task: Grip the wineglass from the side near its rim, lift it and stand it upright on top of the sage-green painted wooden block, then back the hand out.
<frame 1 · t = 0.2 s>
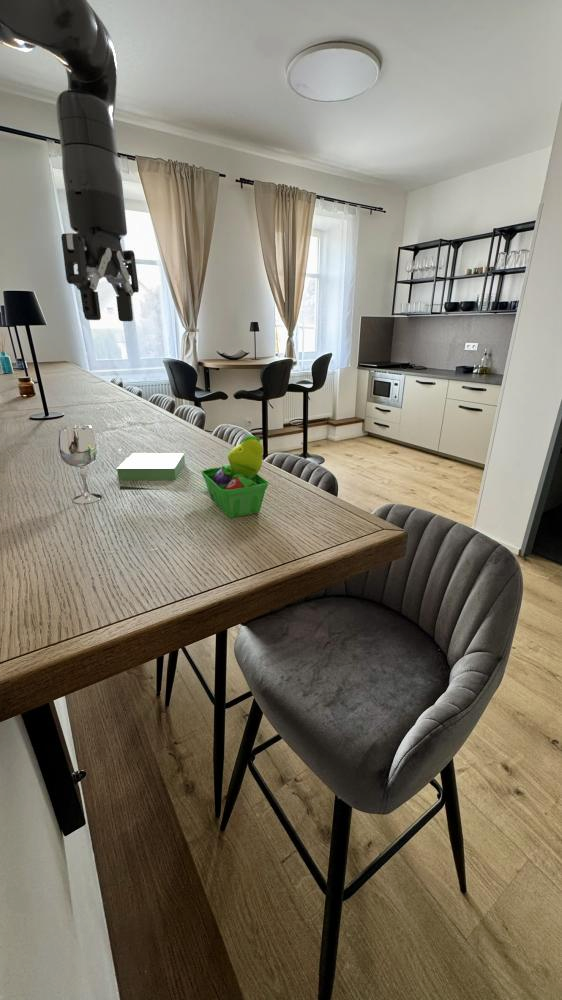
hand: (110, 320, 64), 28 cm above the counter, tool pointing down, fingers open, 8 cm apart
green block: (154, 480, 78), on the counter
wineglass: (87, 499, 69), on the counter
fruit basket: (237, 506, 67), on the counter
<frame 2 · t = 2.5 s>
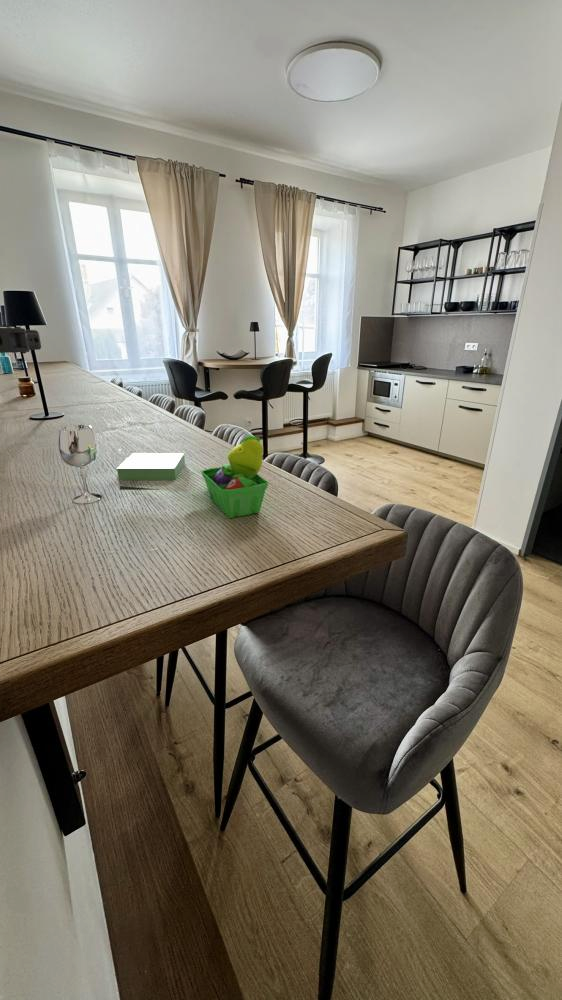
hand: (7, 339, 51), 25 cm above the counter, tool horizontal, fingers open, 8 cm apart
nothing on the counter moved.
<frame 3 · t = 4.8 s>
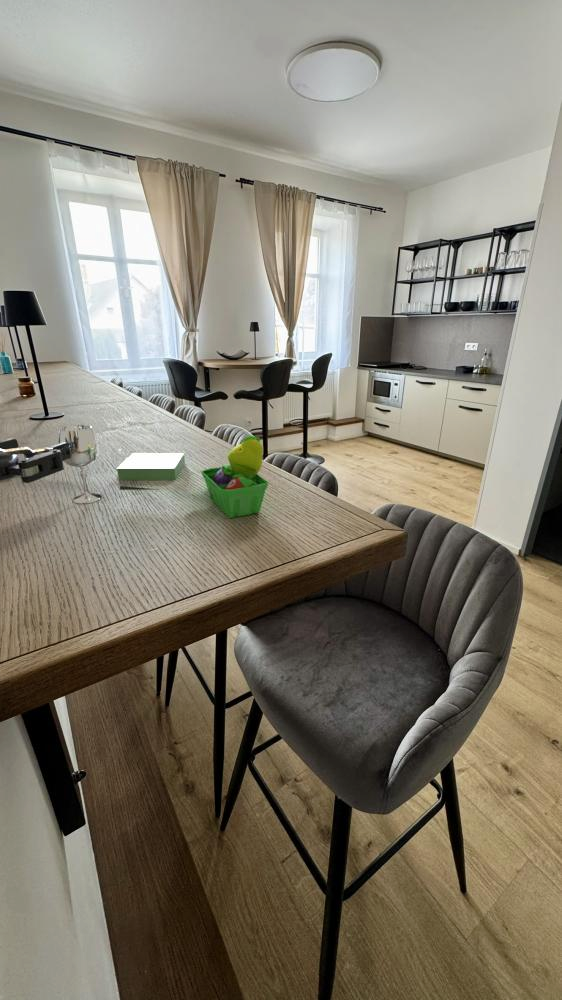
hand: (41, 447, 58), 11 cm above the counter, tool horizontal, fingers open, 8 cm apart
nothing on the counter moved.
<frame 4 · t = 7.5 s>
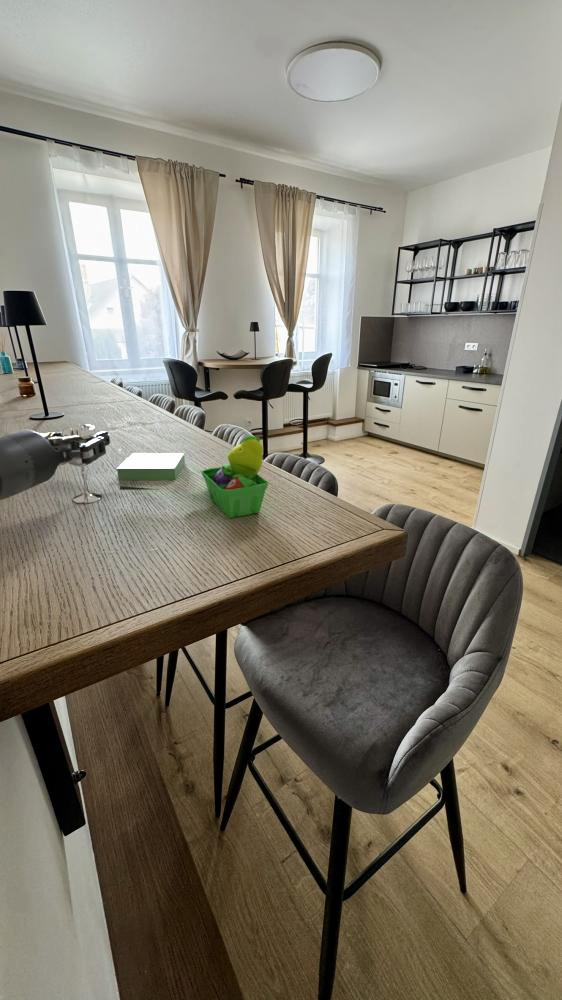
hand: (89, 436, 68), 10 cm above the counter, tool horizontal, fingers closed on wineglass, 5 cm apart
wineglass: (87, 499, 69), on the counter, touching gripper
everything else where it was.
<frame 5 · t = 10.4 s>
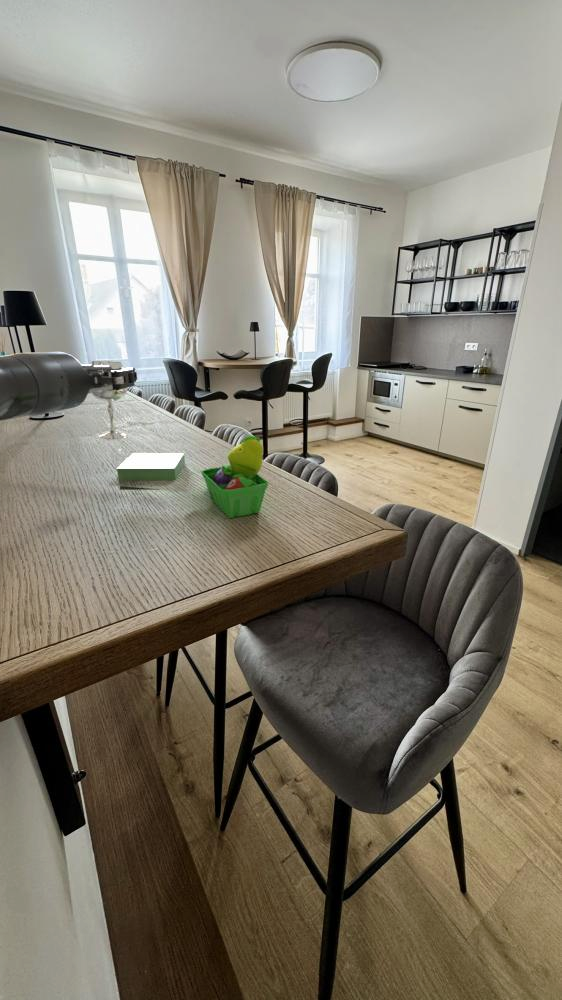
hand: (116, 373, 68), 20 cm above the counter, tool horizontal, fingers closed on wineglass, 5 cm apart
wineglass: (113, 437, 70), point 9 cm above the counter, touching gripper
everything else where it was.
when the fingers open (14 cm above the counter, at t = 13.5 s): wineglass stays where it is, resting on green block.
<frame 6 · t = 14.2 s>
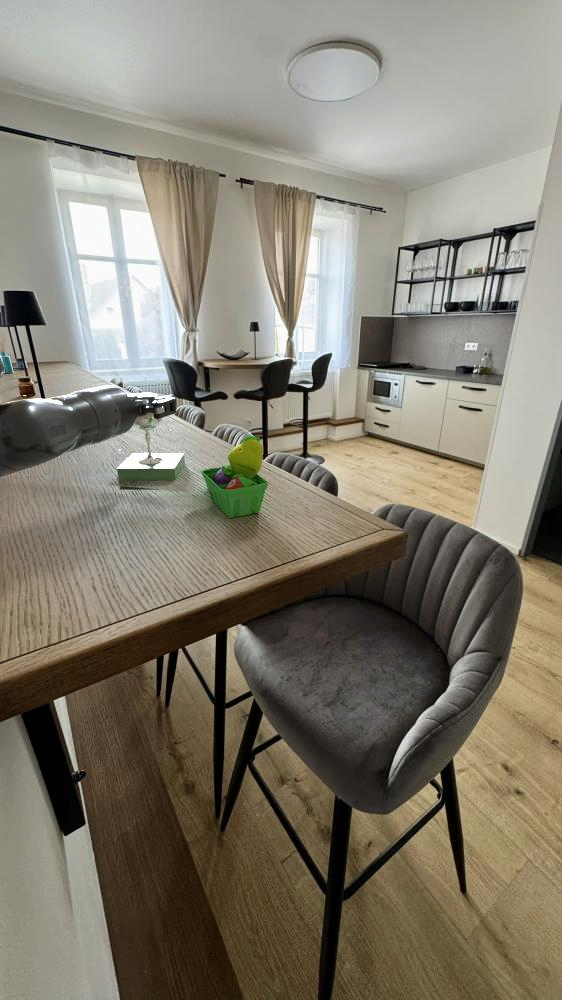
hand: (151, 399, 74), 15 cm above the counter, tool horizontal, fingers open, 8 cm apart
wineglass: (150, 461, 76), point 4 cm above the counter, touching green block
everything else where it was.
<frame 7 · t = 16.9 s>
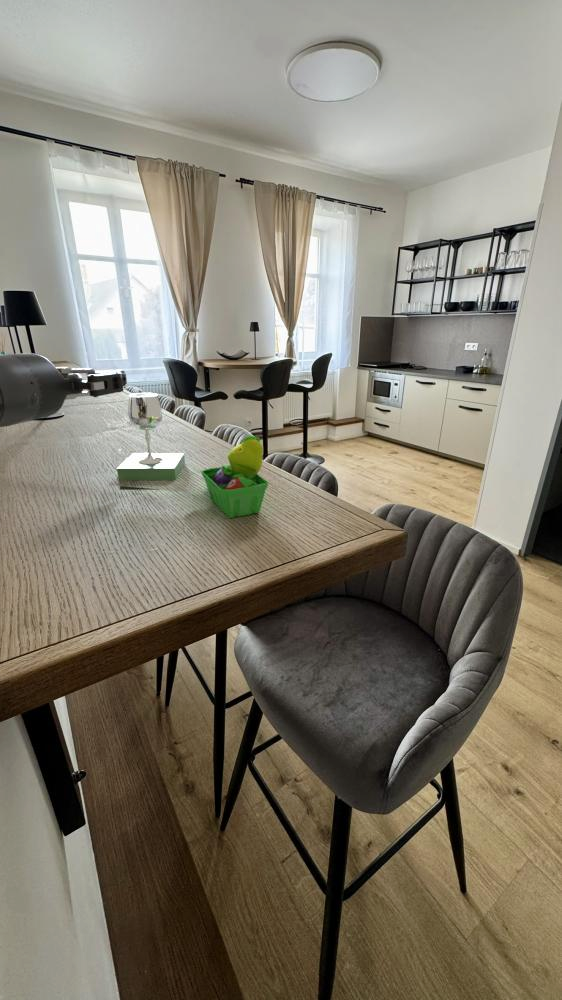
hand: (97, 376, 61), 20 cm above the counter, tool horizontal, fingers open, 8 cm apart
nothing on the counter moved.
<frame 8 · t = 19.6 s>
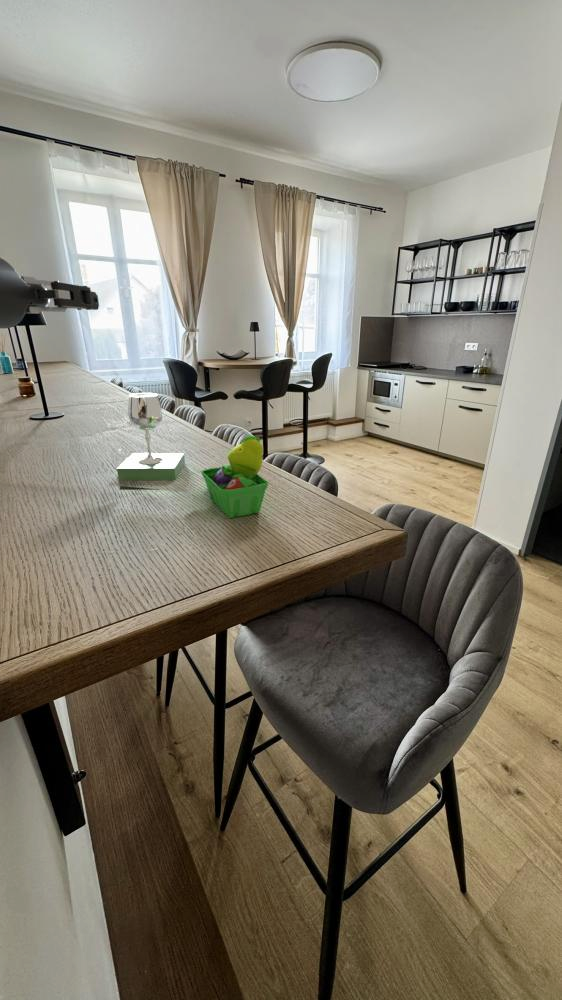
hand: (68, 301, 58), 30 cm above the counter, tool horizontal, fingers open, 8 cm apart
nothing on the counter moved.
at the end: wineglass 0.4 cm off-centre on the green block, point 3.8 cm above the green block's base; wineglass tilted 0°; the gripper is holding nothing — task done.
